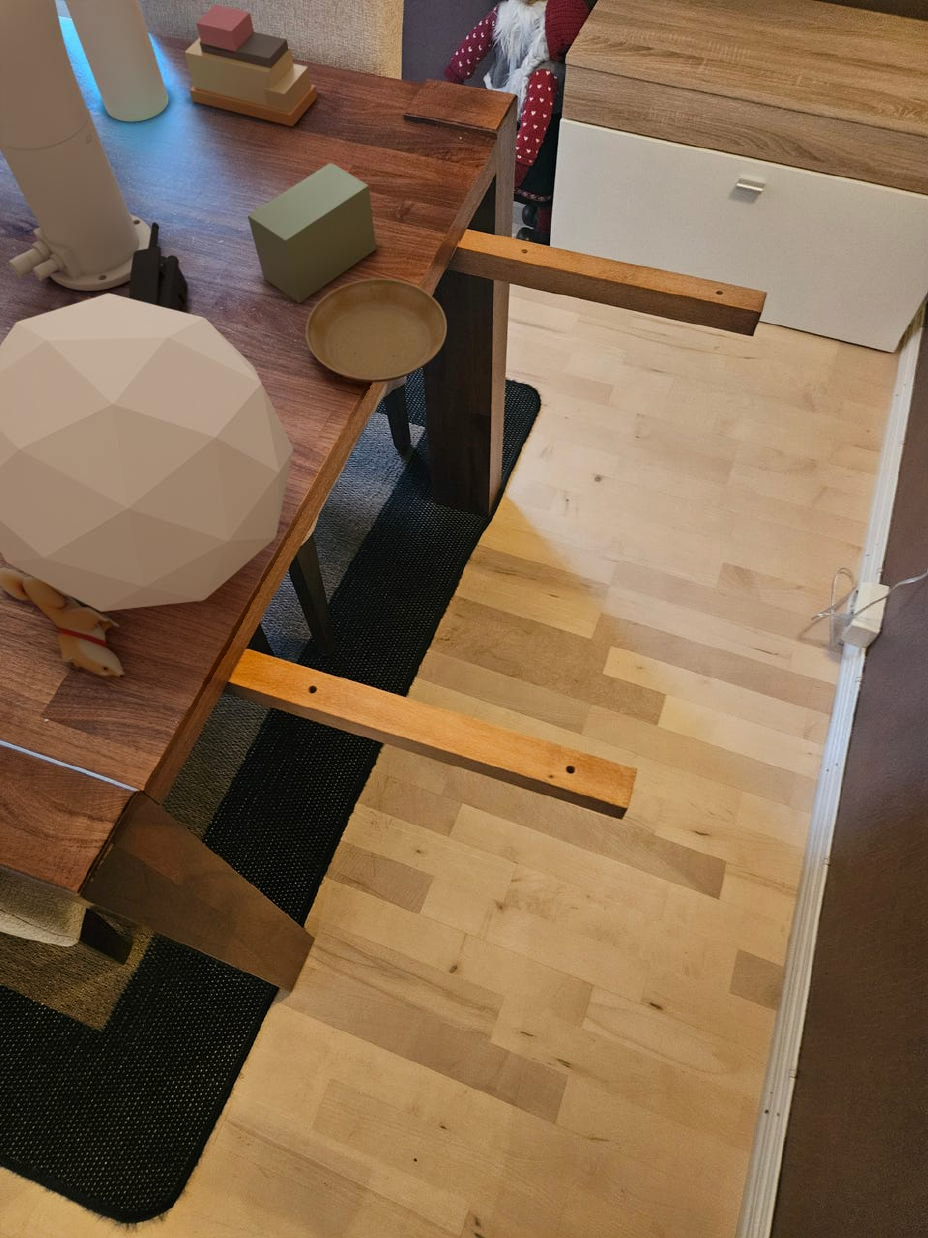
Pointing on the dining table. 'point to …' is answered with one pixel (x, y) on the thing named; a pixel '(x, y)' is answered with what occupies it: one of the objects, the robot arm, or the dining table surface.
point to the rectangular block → (314, 231)
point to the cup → (120, 57)
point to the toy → (68, 623)
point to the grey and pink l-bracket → (238, 38)
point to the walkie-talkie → (157, 277)
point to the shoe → (251, 86)
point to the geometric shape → (134, 454)
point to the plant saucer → (376, 329)
